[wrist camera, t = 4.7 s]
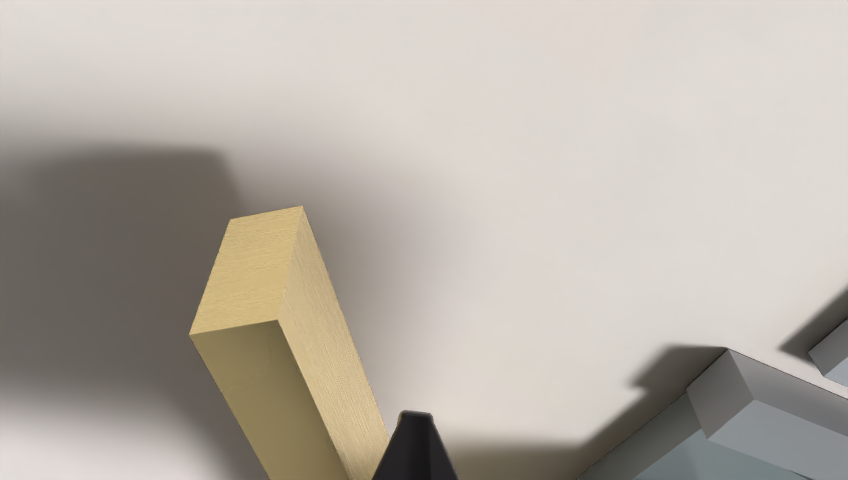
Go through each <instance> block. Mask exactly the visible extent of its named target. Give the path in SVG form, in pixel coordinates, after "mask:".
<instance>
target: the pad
mask: <svg viewBox="0 0 848 480" xmlns="http://www.w3.org/2000/svg"><path fill="white" fill-rule="evenodd" d="M808 354H809V355H810V357H811V358H812V360H813V361H814V363H815V365H816V366H817V368H818V369H819V371H820V372H821V374H822V375H823V377H825V378H827V379H830V380H832V381H834V382H837V383H839V384H841V385H844V386H846V387H848V319H847V320H846V321H844V322H843V323H842V324H841V325H840V326H838V327H837V328H836V329H835V330H834V331H833V332H831V333H830V334H829V335H828V336H827V337H826V338H824V339H823V340H822V341H821V342H820V343H818V344H817V345H816V346H815V347H814V348H813V349H811V350H810V351H809V352H808Z"/></svg>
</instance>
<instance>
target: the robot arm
mask: <svg viewBox="0 0 848 480" xmlns="http://www.w3.org/2000/svg"><path fill="white" fill-rule="evenodd" d="M371 480H460V479H459V477H458V474H457V472H456V470H455V468H454V466H453V464H452V461H451V459H450V457H449V455H448V453H447V450H446V448H445V446H444V444H443V442H442V439H441V437H440V435H439V433H438V431H437V429H436V426H435V424H434V421H433V416H432V415H431V414H430V413H426V412H417V411H408V410H404V411H402V412H401V413H400V414H399V418H398V422H397V427H396V429H395V431H394V433H393V435H392V437H391V439H390V441H389V444H388V446H387V448H386V450H385V452H384V454H383V456H382V458H381V460H380V462H379V464H378V466H377V469H376V471H375V473H374V475H373V477H372V479H371Z"/></svg>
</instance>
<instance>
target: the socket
mask: <svg viewBox="0 0 848 480" xmlns="http://www.w3.org/2000/svg"><path fill="white" fill-rule="evenodd" d="M686 391H687V394H688V396H689V398H690V401H691V403H692V406H693V408H694V410H695V413H696V415H697V417H698V420H699V422H700V425H701V427H702V429H703V432H704V434H705V436H706V439H707V440H709V441H712V442H715V443H717V444H720V445H723V446H725V447H728V448H731V449H733V450H736V451H739V452H742V453H744V454H747V455H750V456H752V457H755V458H758V459H760V460H763V461H766V462H768V463H771V464H774V465H776V466H779V467H782V468H785V469H787V470H790V471H793V472H795V473H798V474H801V475H803V476H806V477H809V478H811V479H814V480H848V400H847V399H845V398H842V397H840V396H838V395H835V394H833V393H831V392H828V391H826V390H824V389H821V388H819V387H817V386H814V385H812V384H810V383H807V382H805V381H803V380H800V379H798V378H796V377H793V376H791V375H788V374H786V373H784V372H781V371H779V370H777V369H774V368H772V367H770V366H767V365H765V364H763V363H760V362H758V361H756V360H753V359H751V358H749V357H746V356H744V355H742V354H739V353H737V352H734V351H732V350H730V349H728V350H727V351H726V352H724V353H723V354H722V355H721V356H720V357H719V358H718V359H717V360H716V361H715V362H714V363H713V364H711V365H710V366H709V367H708V368H707V369H706V370H705V371H704V372H703V373H702V374H701V375H700V376H699V377H697V378H696V379H695V380H694V381H693V382H692V383H691V384H690V385H689V386H688V387H687V388H686Z"/></svg>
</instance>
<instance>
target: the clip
mask: <svg viewBox="0 0 848 480" xmlns="http://www.w3.org/2000/svg"><path fill="white" fill-rule="evenodd" d="M189 336H190V338H191V340H192V342H193V343H194V345H195V347H196V349H197V351H198V352H199V354H200V356H201V358H202V359H203V361H204V363H205V365H206V367H207V368H208V370H209V372H210V374H211V375H212V377H213V379H214V381H215V383H216V384H217V386H218V388H219V390H220V391H221V393H222V395H223V397H224V399H225V400H226V402H227V404H228V406H229V407H230V409H231V411H232V413H233V415H234V416H235V418H236V420H237V422H238V423H239V425H240V427H241V429H242V431H243V432H244V434H245V436H246V438H247V439H248V441H249V443H250V445H251V447H252V448H253V450H254V452H255V454H256V455H257V457H258V459H259V461H260V463H261V464H262V466H263V468H264V470H265V471H266V473H267V475H268V477H269V479H270V480H371V479H372V477H373V475H374V473H375V471H376V469H377V466H378V464H379V462H380V460H381V458H382V456H383V454H384V452H385V450H386V448H387V446H388V444H389V441H390V439H389V436H388V433H387V431H386V428H385V425H384V423H383V420H382V417H381V415H380V412H379V409H378V406H377V404H376V401H375V398H374V396H373V393H372V390H371V388H370V385H369V382H368V380H367V377H366V374H365V372H364V369H363V366H362V364H361V361H360V358H359V356H358V353H357V350H356V348H355V345H354V342H353V340H352V337H351V334H350V332H349V329H348V326H347V324H346V321H345V318H344V315H343V313H342V310H341V307H340V305H339V302H338V299H337V297H336V294H335V291H334V289H333V286H332V283H331V281H330V278H329V275H328V273H327V270H326V267H325V265H324V262H323V259H322V257H321V254H320V251H319V249H318V246H317V243H316V241H315V238H314V235H313V233H312V230H311V227H310V225H309V222H308V219H307V216H306V214H305V211H304V208H303V206H297V207H292V208H287V209H281V210H276V211H271V212H266V213H260V214H255V215H250V216H244V217H239V218H234V219H230V221H229V224H228V227H227V229H226V232H225V235H224V238H223V241H222V243H221V246H220V249H219V252H218V254H217V257H216V260H215V263H214V266H213V268H212V271H211V274H210V277H209V280H208V282H207V285H206V288H205V291H204V294H203V296H202V299H201V302H200V305H199V308H198V310H197V313H196V316H195V319H194V322H193V324H192V327H191V330H190V333H189Z"/></svg>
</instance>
